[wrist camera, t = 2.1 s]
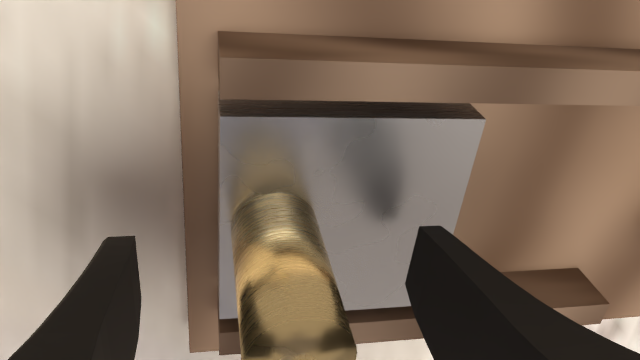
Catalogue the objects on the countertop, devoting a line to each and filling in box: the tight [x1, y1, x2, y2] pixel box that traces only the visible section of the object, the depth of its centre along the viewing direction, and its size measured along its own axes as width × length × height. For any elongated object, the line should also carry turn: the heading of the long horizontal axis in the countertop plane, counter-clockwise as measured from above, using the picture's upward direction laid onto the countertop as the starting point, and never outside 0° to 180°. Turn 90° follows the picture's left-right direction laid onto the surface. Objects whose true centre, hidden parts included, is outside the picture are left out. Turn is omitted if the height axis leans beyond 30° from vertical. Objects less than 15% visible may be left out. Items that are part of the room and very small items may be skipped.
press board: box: [176, 0, 640, 355], centre depth 18 cm, size 22×14×4 cm, turn 84°
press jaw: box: [218, 91, 486, 360], centre depth 14 cm, size 7×7×6 cm
